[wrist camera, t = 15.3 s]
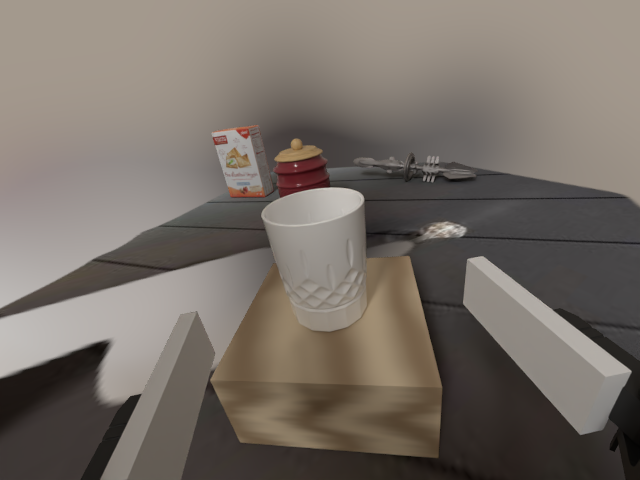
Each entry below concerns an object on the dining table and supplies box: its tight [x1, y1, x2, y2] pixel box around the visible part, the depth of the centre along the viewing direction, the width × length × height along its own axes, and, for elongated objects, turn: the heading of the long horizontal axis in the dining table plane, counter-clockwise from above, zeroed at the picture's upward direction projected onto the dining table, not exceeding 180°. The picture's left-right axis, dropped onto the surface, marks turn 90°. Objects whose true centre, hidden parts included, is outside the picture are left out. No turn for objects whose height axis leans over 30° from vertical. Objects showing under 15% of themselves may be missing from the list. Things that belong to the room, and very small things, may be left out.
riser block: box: [210, 256, 442, 458], centre depth 28 cm, size 16×16×8 cm
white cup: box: [261, 188, 367, 332], centre depth 24 cm, size 8×8×10 cm
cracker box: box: [212, 125, 274, 197], centre depth 90 cm, size 14×6×21 cm, turn 67°
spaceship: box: [354, 152, 478, 182], centre depth 81 cm, size 8×35×8 cm
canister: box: [273, 139, 331, 198], centre depth 69 cm, size 13×13×18 cm
